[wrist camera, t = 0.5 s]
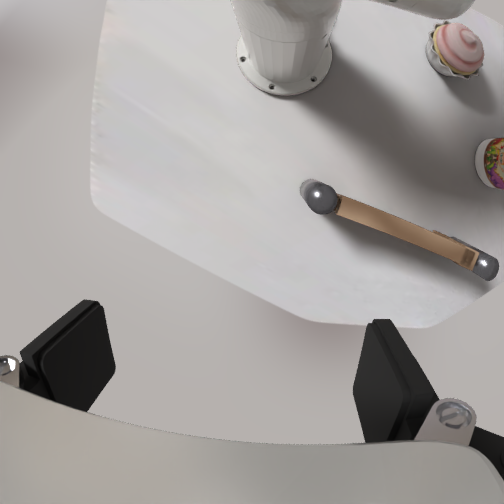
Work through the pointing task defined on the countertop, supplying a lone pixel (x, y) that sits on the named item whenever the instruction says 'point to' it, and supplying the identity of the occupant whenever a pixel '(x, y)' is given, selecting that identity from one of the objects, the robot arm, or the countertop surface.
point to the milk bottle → (491, 162)
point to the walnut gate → (406, 231)
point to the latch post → (483, 263)
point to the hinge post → (319, 196)
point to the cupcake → (454, 50)
